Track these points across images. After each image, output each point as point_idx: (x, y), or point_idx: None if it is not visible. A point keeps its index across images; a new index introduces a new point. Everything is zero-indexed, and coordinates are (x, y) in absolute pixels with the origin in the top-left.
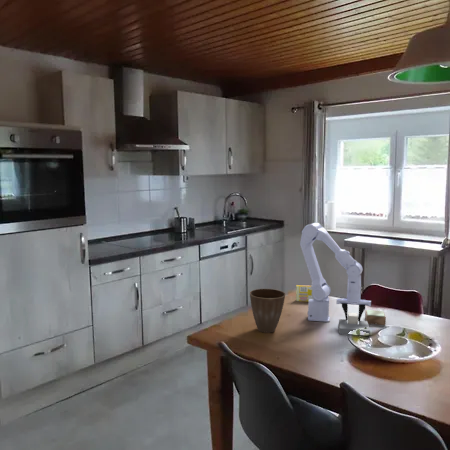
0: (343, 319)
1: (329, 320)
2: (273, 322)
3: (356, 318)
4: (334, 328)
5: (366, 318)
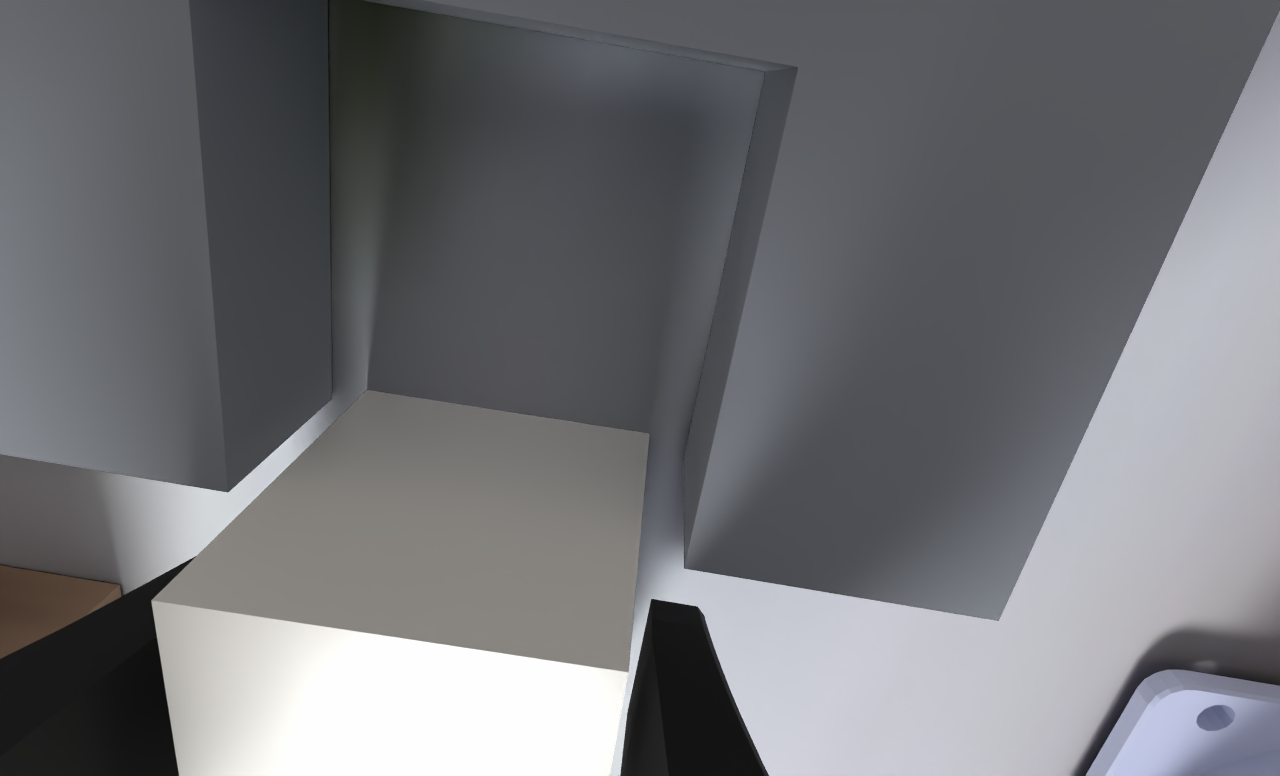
0: (828, 582)
1: (1136, 724)
2: None
3: (287, 543)
4: (1244, 115)
5: None
